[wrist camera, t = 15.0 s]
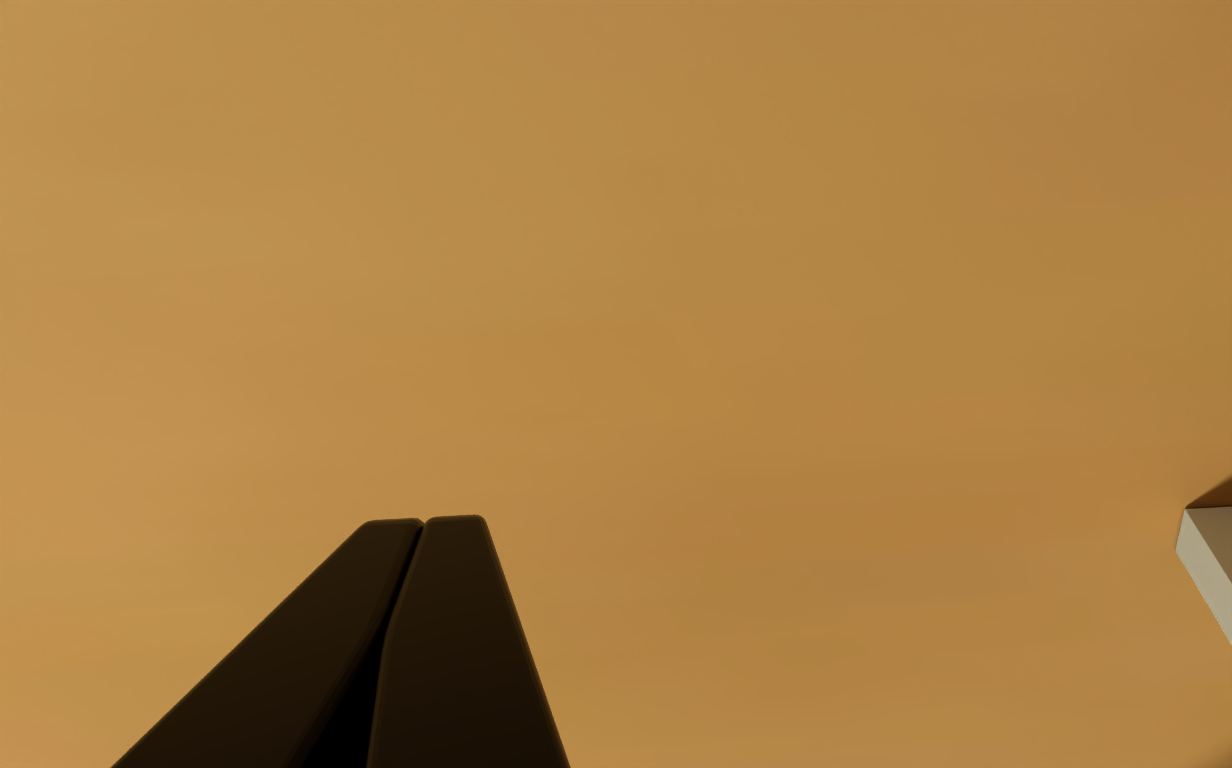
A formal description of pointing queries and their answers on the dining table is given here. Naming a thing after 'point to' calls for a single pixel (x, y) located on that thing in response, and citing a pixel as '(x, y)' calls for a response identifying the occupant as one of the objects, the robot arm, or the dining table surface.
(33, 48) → the dining table surface
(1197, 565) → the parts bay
